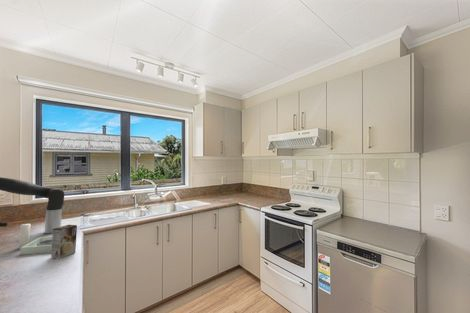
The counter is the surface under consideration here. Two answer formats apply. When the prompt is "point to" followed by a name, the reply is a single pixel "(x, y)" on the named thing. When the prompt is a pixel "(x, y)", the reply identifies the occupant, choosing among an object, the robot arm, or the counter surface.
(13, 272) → the counter surface
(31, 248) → the sage box
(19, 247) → the white cylinder
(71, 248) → the coffee box
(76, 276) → the counter surface
